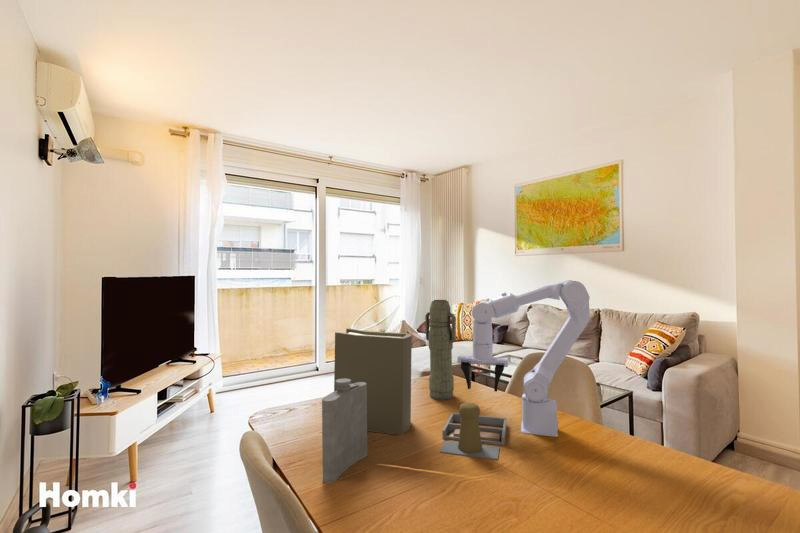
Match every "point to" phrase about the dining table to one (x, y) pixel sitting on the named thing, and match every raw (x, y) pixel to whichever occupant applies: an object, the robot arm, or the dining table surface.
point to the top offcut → (483, 435)
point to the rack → (481, 420)
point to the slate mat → (486, 453)
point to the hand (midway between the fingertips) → (482, 389)
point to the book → (378, 375)
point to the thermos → (440, 349)
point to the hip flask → (343, 428)
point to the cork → (469, 429)
